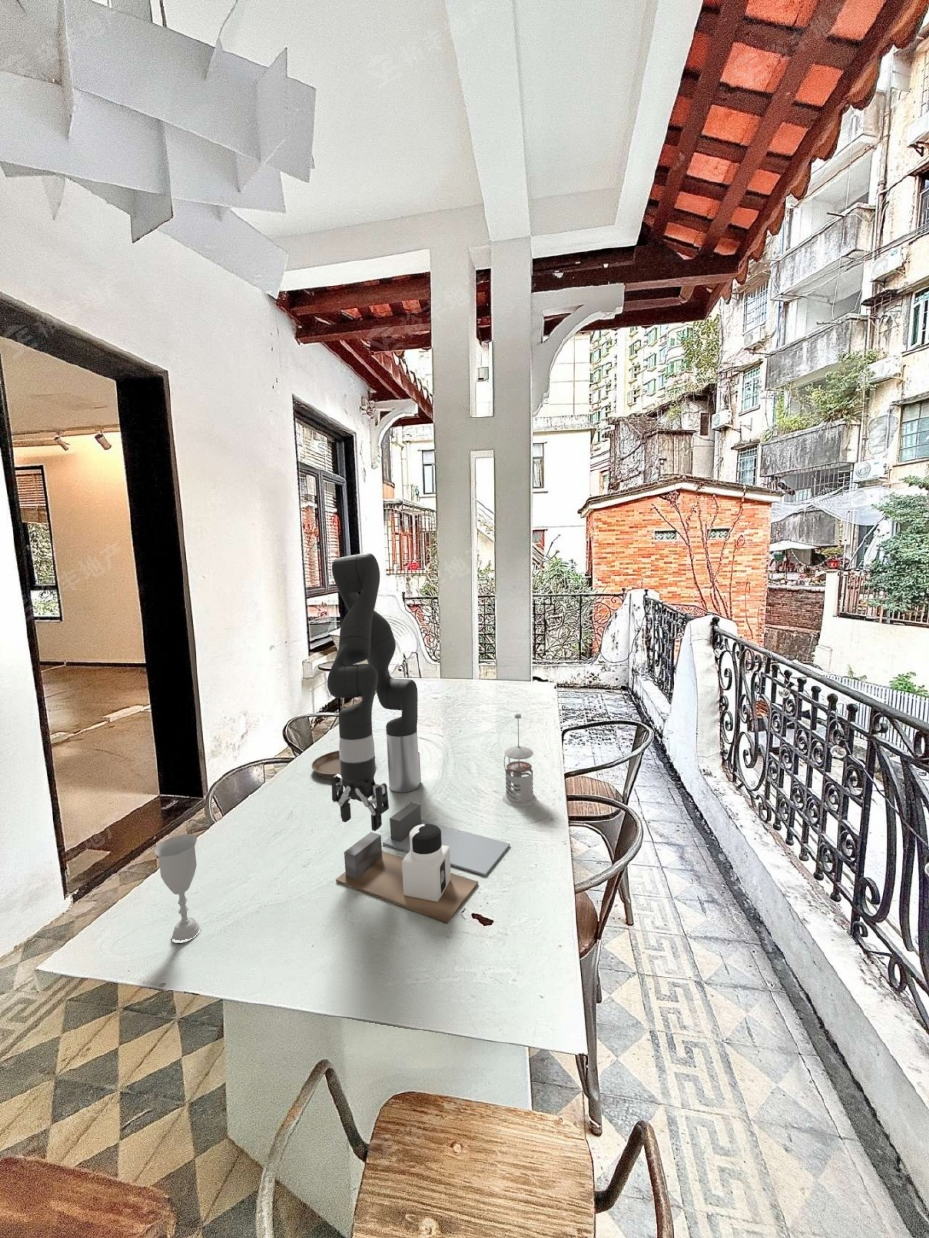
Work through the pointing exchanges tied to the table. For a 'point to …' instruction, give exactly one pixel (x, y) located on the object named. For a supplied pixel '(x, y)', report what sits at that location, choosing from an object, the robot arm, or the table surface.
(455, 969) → the table surface
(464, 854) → the grey board with block
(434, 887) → the container
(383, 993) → the table surface
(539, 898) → the table surface
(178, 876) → the chalice
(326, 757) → the plant saucer
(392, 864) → the brown board
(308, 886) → the table surface
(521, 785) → the french press
